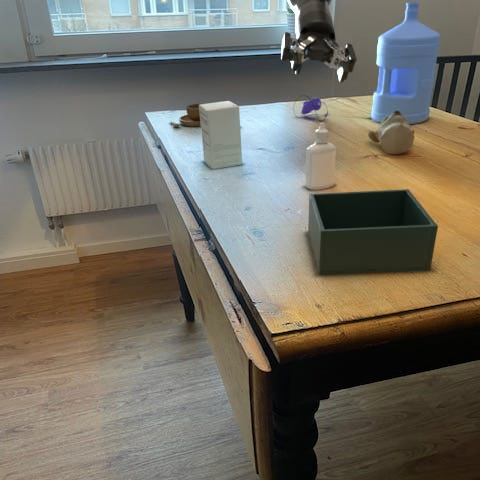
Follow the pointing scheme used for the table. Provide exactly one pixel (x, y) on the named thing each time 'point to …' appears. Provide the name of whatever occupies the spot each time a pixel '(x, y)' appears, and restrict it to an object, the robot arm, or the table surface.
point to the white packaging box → (221, 134)
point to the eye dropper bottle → (320, 161)
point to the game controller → (311, 106)
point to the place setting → (190, 117)
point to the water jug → (406, 69)
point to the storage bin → (370, 232)
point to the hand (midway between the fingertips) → (321, 73)
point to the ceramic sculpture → (394, 134)
